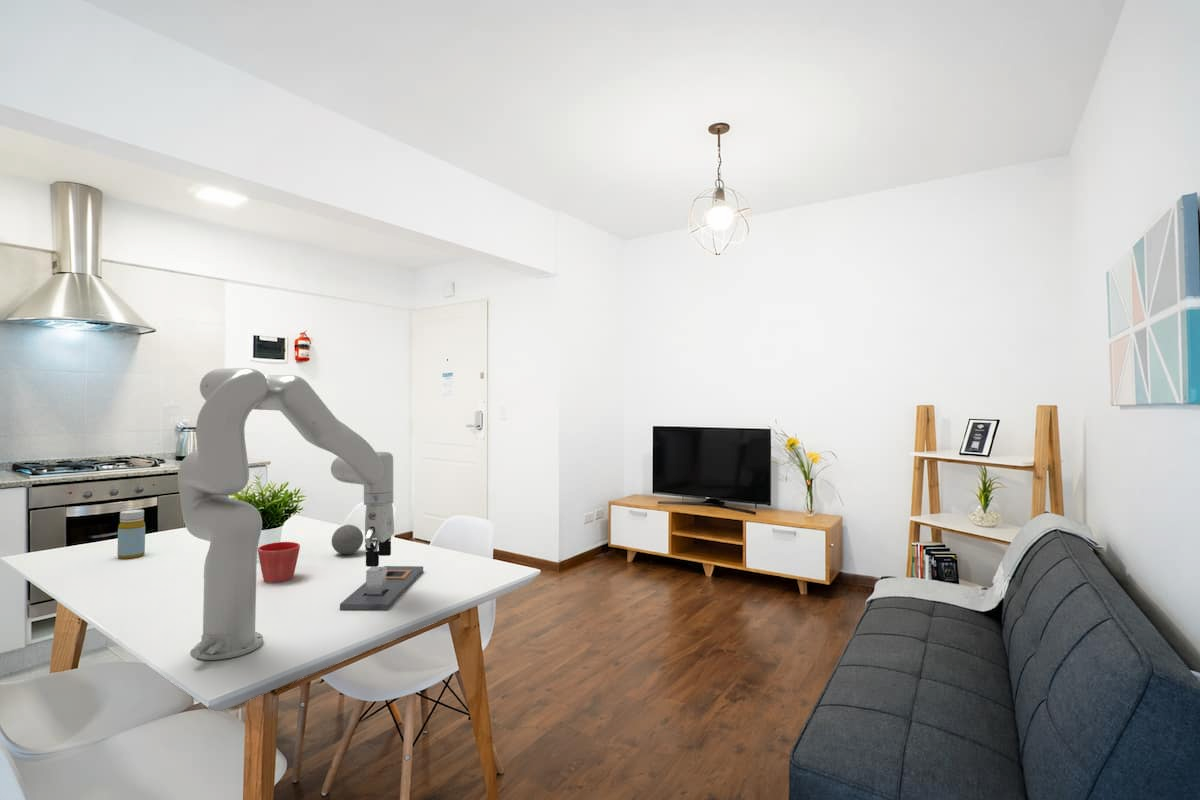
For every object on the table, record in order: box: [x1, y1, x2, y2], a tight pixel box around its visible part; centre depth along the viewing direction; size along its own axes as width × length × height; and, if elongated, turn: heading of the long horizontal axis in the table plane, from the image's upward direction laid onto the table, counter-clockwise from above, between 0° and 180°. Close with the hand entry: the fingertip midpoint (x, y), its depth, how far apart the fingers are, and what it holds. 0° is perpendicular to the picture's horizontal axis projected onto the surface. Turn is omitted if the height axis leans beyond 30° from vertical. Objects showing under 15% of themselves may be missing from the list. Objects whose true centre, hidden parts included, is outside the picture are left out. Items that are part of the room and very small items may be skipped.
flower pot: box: [257, 541, 301, 583], centre depth 172 cm, size 11×11×10 cm
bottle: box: [117, 509, 146, 560], centre depth 192 cm, size 7×7×15 cm
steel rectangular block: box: [365, 566, 387, 596], centre depth 157 cm, size 4×4×8 cm
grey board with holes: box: [339, 565, 424, 611], centre depth 165 cm, size 34×12×2 cm, turn 2°
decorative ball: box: [331, 524, 364, 556], centre depth 200 cm, size 10×10×10 cm
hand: (378, 560), depth 158 cm, fingers open, 9 cm apart
